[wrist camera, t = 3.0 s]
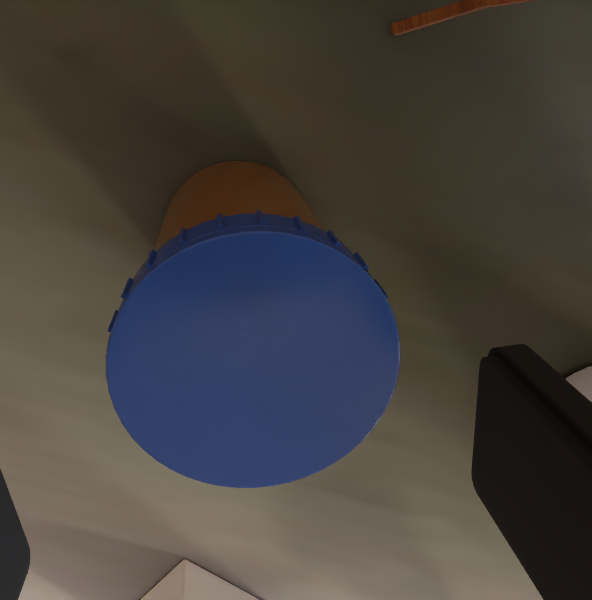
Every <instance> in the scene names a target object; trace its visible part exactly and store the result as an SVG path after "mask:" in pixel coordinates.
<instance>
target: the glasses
mask: <svg viewBox="0 0 592 600" xmlns="http://www.w3.org/2000/svg"><path fill="white" fill-rule="evenodd" d="M528 1H534V0H462V1H459V2H456V3H453V4H450V5H447V6H444V7H441V8H438V9H435V10H432V11H429V12H426V13H423V14H420V15H416V16H413V17H410V18H407V19H404V20H401V21H398V22H395V23H392V24H391V28H392V35H402V34H405V33H408V32H411V31H414V30H418V29H421V28H424V27H427V26H430V25H434V24H437V23H440V22H443V21H446V20H450V19H453V18H456V17H459V16H462V15H466V14H469V13H472V12H475V11H478V10H482V9H485V8H489V7H495V6H502V5H508V4H515V3H521V2H528Z"/></svg>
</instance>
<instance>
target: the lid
mask: <svg viewBox="0 0 592 600" xmlns="http://www.w3.org/2000/svg"><path fill="white" fill-rule="evenodd" d="M368 269H369V267H368V266H367V264H366V263H365V262H364V260H363V259H362V258H361V256H360V255H359V254H358V253H357V252H356V253H355V254H353V253H352V252H351V251H350V250H349V249H348V248H347V247H346V246H345V245H344V244H343V243H341V242H340V241H339V240H338V239H337V238H336V236H335V235H334V233H333V232H332V231H330V230H329V231H328V232H325V231H323V230H321V229H319V228H317V227H316V226H314V225H311V224H308V223H306V222H303V221H301V219H300V217H299V216H296V215H295V216H294V218H290V217H285V216H281V215H274V214H262V211H261V210H256V213H250V214H236V215H230V216H224V217H223V216H222V214H217V218H216V219H213V220H209V221H206V222H203V223H200V224H198V225H196V226H194V227H191V228H189V229H187V230H186V229H185V227H183V228H181V229H180V233H179V234H178V235H177V236H175V237H174V238H172V239H170V240H169V241H167V242H166V243H165V244H164V245H163V246H161V247H160V248H159V249H158V250H157V251H154V250H153V249H152V250H151V251H150V253H149V255H148V258H147V261H146V262H145V263H144V264H143V265H142V266H141V268H140V269H139V271H138V272H137V274H136V275H135V277H134V278H133V279H131V278H129V279H128V281H127V283H126V286H125V288H124V291H123V293H122V295H121V297H122V298H123V300H122V303H121V305H120V308H119V311H118V310H116V311H115V314H114V316H113V319H112V321H111V323H110V326H109V329H108V332H111V333H110V336H109V340H108V346H107V353H106V378H107V384H108V390H109V394H110V397H111V400H112V403H113V406H114V409H115V410H116V412H117V414H118V416H119V418H120V420H121V422H122V424H123V426H124V427H125V428H126V430H127V431H128V433H129V434H130V435H131V437H132V438H133V439H134V440H135V441H136V442H137V443H138V444H139V446H140V447H141V448H142V449H143V450H144V451H146V452H147V453H148V454H149V455H150V456H152V457H153V458H154V459H155V460H157V461H158V462H160V463H161V464H163V465H165V466H166V467H168V468H169V469H171V470H173V471H175V472H177V473H180V474H182V475H184V476H186V477H189V478H192V479H195V480H198V481H201V482H204V483H209V484H213V485H218V486H225V487H235V488H257V487H267V486H274V485H279V484H284V483H289V482H292V481H295V480H298V479H301V478H305V477H307V476H309V475H312V474H314V473H316V472H319V471H321V470H323V469H324V468H326V467H328V466H330V465H332V464H333V463H335V462H337V461H338V460H339V459H341V458H342V457H344V456H345V455H346V454H348V453H349V452H350V451H352V450H353V449H354V448H355V447H356V446H357V445H358V444H359V443H361V442H362V441H363V439H364V438H365V437H366V436H367V435H368V434H369V433H370V432H371V431H372V429H373V428H374V427H375V425H376V424H377V422H378V421H379V419H380V418H381V417H382V415H383V413H384V411H385V409H386V408H387V406H388V404H389V402H390V399H391V397H392V394H393V391H394V389H395V386H396V381H397V377H398V373H399V365H400V339H399V333H398V328H397V324H396V320H395V317H394V315H393V312H392V309H391V307H390V304H389V303H388V301H387V299H386V298H388V296H387V294H386V293H385V291H384V290H383V289H382V287H381V286H380V285H379V283H378V282H377V281H376V279H375V280H374V279H373V278H372V277H371V275H370V274H369V273H368V271H367V270H368Z"/></svg>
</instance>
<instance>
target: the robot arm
mask: <svg viewBox="0 0 592 600" xmlns="http://www.w3.org/2000/svg"><path fill="white" fill-rule="evenodd" d="M472 481H473V485H474V488H475V490H476V492H477V494H478V496H479V497H480V499H481V501H482V502H483V504H484V505H485V507H486V509H487V510H488V512H489V513H490V515H491V517H492V518H493V520H494V521H495V523H496V524H497V526H498V528H499V529H500V531H501V532H502V534H503V536H504V537H505V539H506V540H507V542H508V544H509V545H510V547H511V548H512V550H513V552H514V553H515V555H516V556H517V558H518V559H519V561H520V563H521V564H522V566H523V567H524V569H525V571H526V572H527V574H528V575H529V577H530V579H531V580H532V582H533V583H534V585H535V587H536V588H537V590H538V591H539V593H540V595H541V596H542V598H543V599H544V600H592V402H591V401H590V400H588V399H587V398H586V397H585V396H584V395H583V394H582V393H580V392H579V391H578V390H577V389H576V388H575V387H574V386H573V385H571V384H570V383H569V382H568V381H567V380H566V379H565V378H563V377H562V376H561V375H560V374H559V373H558V372H557V371H555V370H554V369H553V368H552V367H551V366H550V365H549V364H548V363H546V362H545V361H544V360H543V359H542V358H541V357H540V356H538V355H537V354H536V353H535V352H534V351H533V350H532V349H530V348H529V347H528V346H526V345H525V344H518V345H511V346H504V347H496V348H492V349H491V350H490V352H489V354H488V357H484V358H482V360H481V362H480V369H479V382H478V395H477V407H476V420H475V433H474V446H473V459H472ZM29 565H30V548H29V545H28V542H27V539H26V537H25V534H24V531H23V528H22V526H21V523H20V520H19V518H18V515H17V512H16V510H15V507H14V504H13V501H12V499H11V496H10V493H9V491H8V488H7V485H6V483H5V480H4V477H3V475H2V472H1V469H0V600H18V598H19V595H20V592H21V589H22V587H23V584H24V581H25V578H26V575H27V573H28V569H29Z"/></svg>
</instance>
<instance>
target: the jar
mask: <svg viewBox="0 0 592 600" xmlns="http://www.w3.org/2000/svg"><path fill="white" fill-rule="evenodd" d="M256 210H261V211H262V214H274V215H281V216H285V217H290V218H294V216H295V215H296V216H299V217H300V219H301V221H303V222H306V223H308V224H311V225H314V226H316V227H317V228H319V229H321V230H323V231H325V232H326V230H325V229H324V227H323V226H322V224H321V223H320V221H319V220H318V218H317V217H316V215H315V214H314V212H313V211H312V209H311V208H310V206H309V205H308V203H307V202H306V200H305V199H304V197H303V196H302V194H301V193H300V192H299V190H298V189H297V188H296V187H295V185H293V184H292V183H291V182H290V181H289V180H288V179H287V178H286V177H284V176H283V175H282V174H280V173H279V172H277V171H275V170H273V169H272V168H269V167H267V166H264V165H262V164H258V163H254V162H247V161H228V162H222V163H218V164H215V165H211V166H209V167H207V168H204V169H202V170H200V171H199V172H197V173H196V174H194V175H192V176H191V177H190V178H189V179H188V180H186V181H185V182H184V183H183V184H182V185H181V187H180V188H179V189H178V190H177V191H176V193H175V194H174V196H173V197H172V199H171V201H170V203H169V205H168V208H167V211H166V214H165V217H164V220H163V223H162V226H161V229H160V232H159V235H158V238H157V241H156V244H155V247H154V249H153V250H154V251H157V250H158V249H159V248H160V247H161V246H163V245H164V244H165V243H166V242H167V241H169V240H170V239H172V238H174V237H175V236H177V235H178V234H179V233H180V229H181V228H183V227H185V229H186V230H187V229H189V228H191V227H194V226H196V225H198V224H200V223H203V222H206V221H209V220H213V219H216V218H217V214H222V216H223V217H224V216H230V215H236V214H250V213H256Z"/></svg>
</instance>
